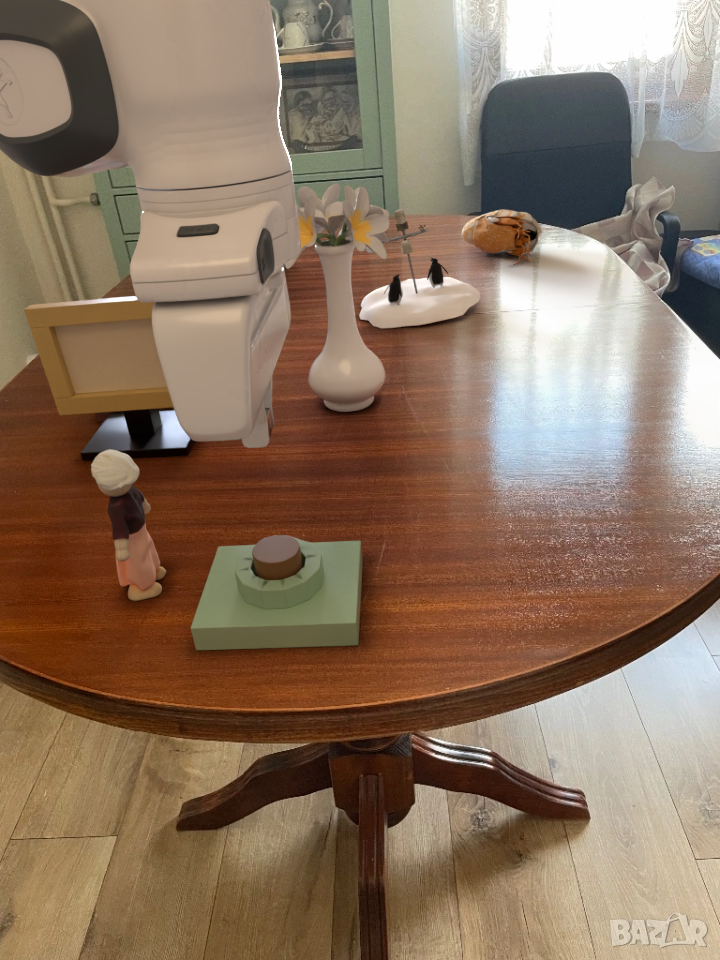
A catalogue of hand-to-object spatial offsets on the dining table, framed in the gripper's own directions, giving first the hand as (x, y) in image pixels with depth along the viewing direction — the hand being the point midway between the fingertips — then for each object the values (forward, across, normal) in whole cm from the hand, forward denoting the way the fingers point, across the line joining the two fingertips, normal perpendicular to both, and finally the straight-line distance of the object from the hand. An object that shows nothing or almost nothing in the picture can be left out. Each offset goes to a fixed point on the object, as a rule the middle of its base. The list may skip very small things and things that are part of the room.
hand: (259, 438), depth 50 cm
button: (+11, 0, 0) cm, 11 cm away
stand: (+14, -31, -20) cm, 39 cm away
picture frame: (+10, -28, -20) cm, 36 cm away
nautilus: (+15, -102, +31) cm, 108 cm away
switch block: (+15, 0, 0) cm, 15 cm away
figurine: (+15, -72, +13) cm, 75 cm away
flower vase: (+15, -38, +3) cm, 41 cm away
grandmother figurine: (+15, -3, -12) cm, 19 cm away
